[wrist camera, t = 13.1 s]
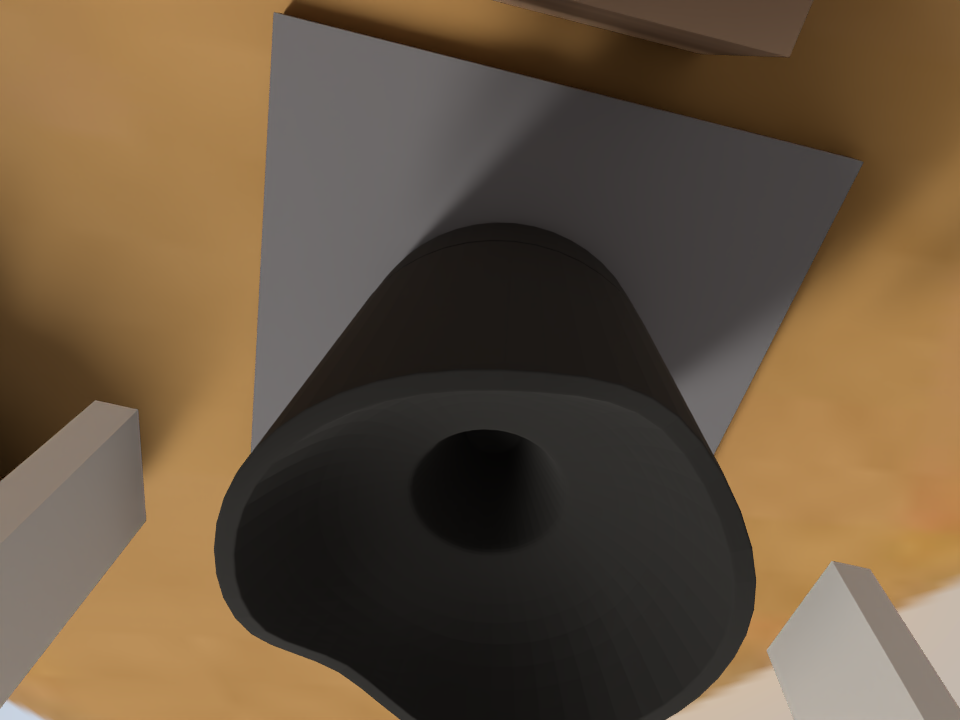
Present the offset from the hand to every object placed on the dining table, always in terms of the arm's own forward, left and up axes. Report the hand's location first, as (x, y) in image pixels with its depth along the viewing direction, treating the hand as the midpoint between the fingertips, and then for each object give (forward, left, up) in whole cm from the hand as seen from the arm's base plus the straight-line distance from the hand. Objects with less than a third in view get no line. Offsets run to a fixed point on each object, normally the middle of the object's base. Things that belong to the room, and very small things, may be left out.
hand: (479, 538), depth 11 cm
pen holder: (0, 0, -9) cm, 9 cm away
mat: (0, 0, -9) cm, 9 cm away
